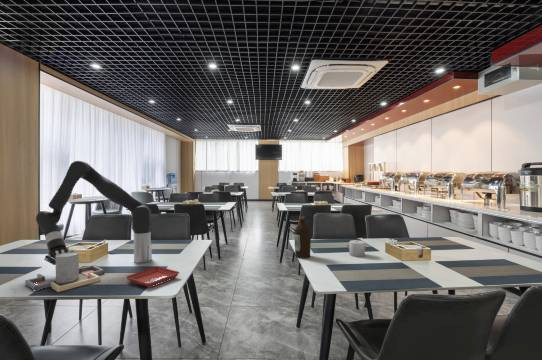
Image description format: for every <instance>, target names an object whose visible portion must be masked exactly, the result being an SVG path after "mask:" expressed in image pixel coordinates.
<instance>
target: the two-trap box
mask: <svg viewBox="0 0 542 360" xmlns="http://www.w3.org/2000/svg"><path fill="white" fill-rule="evenodd" d="M80 273H81V274H83V275H84V276H86V277H88V278H87V279H82V280H77V281H75V282H74V281H73V282H69V283H67V284H62V285H59V283H58V284H57V282H54V281H50V282H47V281H46V276H45V275H43V274H41V273H37V274H36V277H34V278H29V279H25V284H26V286H27V285H28V286H29V287H31V288H32V289H33V290H37V291H39V290H38V289H41V290H44V289H43V288H45V289H48V288H47V287H49V288H51V287H52V288H51V289H53V290H54V291H56V293H59V292H64V291H67V290H72V289H74V288H78V287H82V286H86V285H90V284H93V283H97V282H100V281H101V276H100V275H104V274H105V269H104V268H101V267H98V266H96V265H94V264H93V265H88V266H84V267H83V266H82V267H80V266H79V274H80ZM36 282H37V283H36ZM34 283H35V284H38V285H35V284H34ZM28 286H27V287H28ZM29 287H28V288H29ZM31 288H30V289H31ZM32 289H31V290H32ZM33 290H32V291H33Z"/></svg>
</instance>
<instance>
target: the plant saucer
mask: <svg viewBox="0 0 542 360" xmlns="http://www.w3.org/2000/svg"><path fill="white" fill-rule="evenodd" d="M179 274H180V271H178V270H173V269H169V268H166V267H161V266H154V267H151V268H147V269H145V270H142V271H138V272H135V273H132V274H129V275H126V276H125V278H126V279H127V280H128V281H130V283H133V284H136V283H137V284H136V285H139V284H140V286H142V285H144V286H143V287H145V286H147V287H146V288H148V287H150V286H153V285H156V284H158V283H161V282H164V281H167V280H169V279H172V278H174V279H176V278H177V276H178V275H179ZM162 276H167V277H165V278H162V279H160V280H157V281H154V282H151V283H145V282H147V281H149V282H150V280H151V279H152V278H153V279H154V278H159V277H162ZM172 280H173V279H172ZM169 281H170V280H169ZM167 282H168V281H167ZM164 283H165V282H164ZM161 284H162V283H161ZM158 285H159V284H158ZM156 286H157V285H156ZM153 287H154V286H153ZM150 288H151V287H150Z"/></svg>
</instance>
